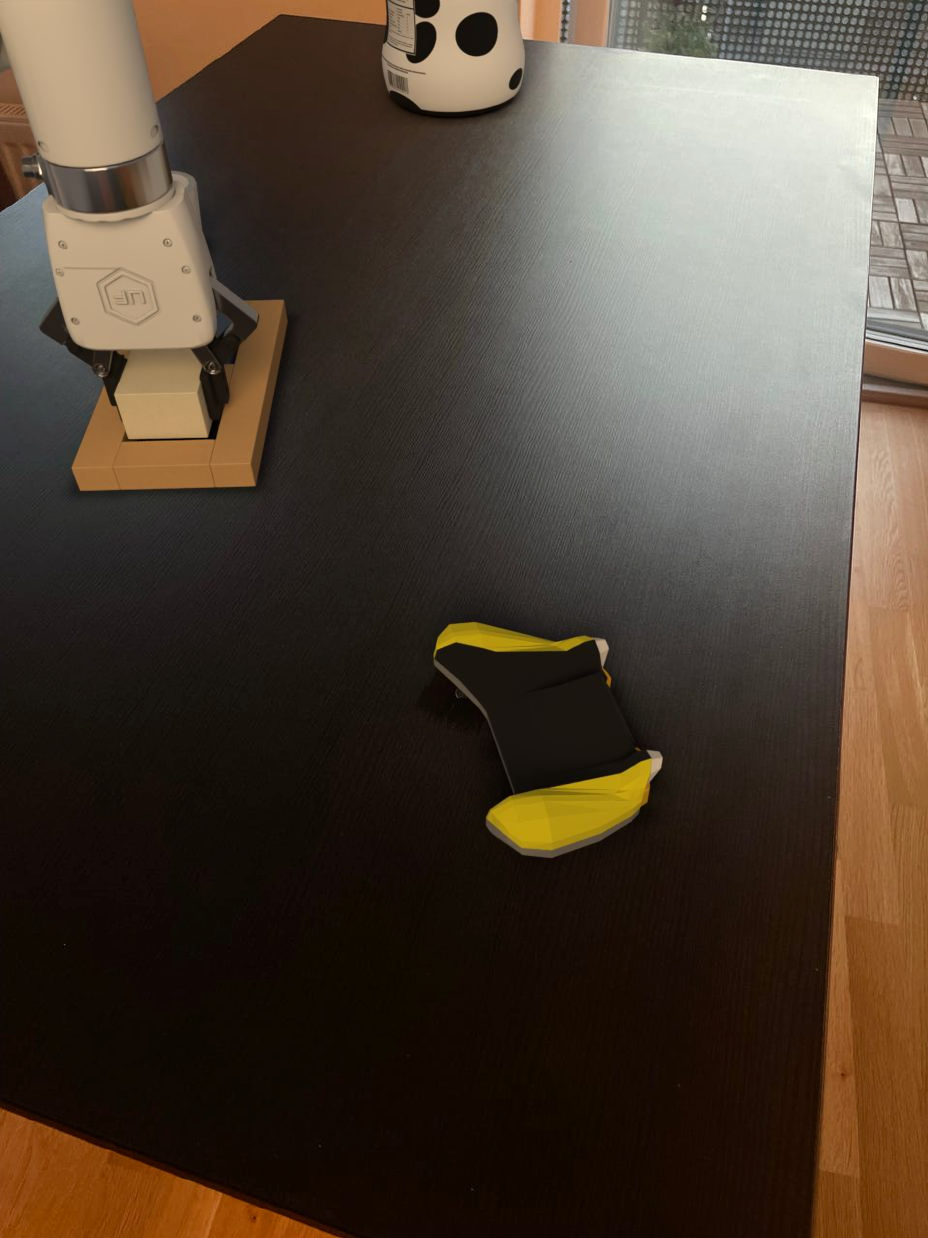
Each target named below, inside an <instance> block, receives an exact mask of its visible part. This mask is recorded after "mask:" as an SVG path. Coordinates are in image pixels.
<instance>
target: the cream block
mask: <svg viewBox="0 0 928 1238" xmlns="http://www.w3.org/2000/svg"><path fill="white" fill-rule="evenodd" d="M127 360H128V361H127V363H126V366H125V368H124V371H123V374H122V376H121V379H120V382H119V383H118V386H117V388H116V391H115V394H114V396H115V399H116V402H117V405H118V408H119V411H120V415H121V418H122V421H123V424H124V427H125V430H126V433H127V436H128V439H137V440H158V439H159V440H160V439H163V440H164V439H200V438H205V439H207V438H209V435H210V431H211V428H212V425H213V420H211V419H210V417H209V414H208V409H207V405H206V401H205V397H204V393H203V389H202V385H201V381H200V380H199V375H200V372H201V368H202V366H201V364H200V362H199V361H198V360H197V358H196V357H195V355H194V354H193V353H192V351H191V350H190V349H172V350H131V352H130V354H129V357H128V359H127Z"/></svg>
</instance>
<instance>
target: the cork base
mask: <svg viewBox="0 0 928 1238" xmlns="http://www.w3.org/2000/svg"><path fill="white" fill-rule="evenodd" d="M243 301H244V302H246V303H247V304H248V305H249V306H251V307H252V308H253V309H255V310H256V311H257V312H258V313H259V321H258V325H257V328H256V329H255V330H254V331H253V333H252V334H251V335H250V336H249V337H248V338H247V339H246V340H245V341H244V342H242V343H241V344H240V345H239V349H238V353H237V357H236V361H235V365H234V364H224V368H225V373H226V377H227V382H228V386H229V392H230V398H229V402H228V404H223V407H222V412H221V416H220V420H219V425H218V429H217V434H216V438H215V439H183V440H181V439H180V440H177V439H176V440H145V441H144V440H143V441H140V440H139V441H138V439H128V436H127V433H126V430H125V427H124V424H123V422H121V419H120V416H119V413H118V410H117V407H116V406H112V405H111V404H110V401H109V398H108V395H107V392H106V388H105V385H104V384H103V387H102V390H101V393H100V395H99V398H98V400H97V402H96V405H95V408H94V410H93V412H92V415H91V418H90V419H89V422H88V425H87V428H86V429H85V433H84V435H83V438H82V441H81V443H80V445H79V448H78V451H77V453H76V455H75V458H74V460H73V462H72V465H71V471H72V474H73V476H74V478H75V481H76V484H77V487H78V489H79V491H80V492H81V491H82V492H83V491H84V492H85V491H86V492H88V491H90V492H91V491H120V490H123V491H124V490H161V489H163V490H165V489H198V488H199V489H200V488H201V489H203V488H205V489H206V488H238V487H239V488H240V487H256V486H257V483H258V477H259V471H260V467H261V462H262V461H261V460H262V456H263V452H264V446H265V441H266V436H267V431H268V425H269V421H270V416H271V409H272V405H273V400H274V395H275V389H276V384H277V378H278V374H279V369H280V362H281V359H282V353H283V348H284V343H285V338H286V332H287V327H288V316H287V308H286V303H285V300H284V299H260V300H253V299H252V300H250V299H249V300H247V299H246V300H243ZM117 352H118V353H119V354H120V355H122V354H124V356H125V358H127V359H128V357H129V354H130V352H131V350H126V351H117Z"/></svg>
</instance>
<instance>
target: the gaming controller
mask: <svg viewBox="0 0 928 1238" xmlns="http://www.w3.org/2000/svg"><path fill="white" fill-rule="evenodd" d="M609 650H610V648H609V645H608V643H607V641H606V639H604V638H601V637H600V638H599V637H590V636H588V635H579V636H575V637H570V638H568V639H563V640H560V641H555V640H549V639H546V638H543V637H542V638H541V637H538V636H534V635H529V634H525V633H521V632H518V631H513V630H510V629H505V628H501V627H497V626H493V625H490V624H485V623H481V622H476V621H471V622H460V623H450V624H448V625H447V626H446V628H444V630H443V631H441V633H440V634H439V635H438V637H437V640H436V644H435V649H434V652H433V665H434V667H436V668H437V669H438V671H440V672H441V673H442V674H443V675H444V676H445V677H446V678H447V679H448V680H449V681H450V682H452V684H454V685H455V686H456V687H457V688H458V689H459V690H460V691H461V692H462V693H463V694H464V695H465V696H466V697H468V699H469V700H470V701H471V702H472V703H473V704H474V705H475V706H476V707H477V708H478V709H479V710H480V712H481V713H482V714H483V716H484V717H485V718H486V720H487V723H488V725H489V728H490V731H491V734H492V736H493V740H494V743H495V746H496V748H497V750H498V754H499V757H500V759H501V762H502V765H503V768H504V770H505V773H506V776H507V779H508V782H509V784H510V788H511V790H512V793H513V795H509V796H507V797H504V798H503V799H502V800H500V801H498V803H496V804H495V805H494V806H492V807H491V808H490V809H489V810H488V813H487V814H486V816H485V827H486V828H487V829H488V831H489V832H490V833H491V834H492V835H493V836H495V837H496V838H497V839H499V840H500V841H502V842H503V843H504V844H506V845H508V847H510V848H512V849H513V850H515V851H516V852H517V853H519V854H520V855H521V856H529V857H537V858H547V859H553V858H555V857H558V856H561V855H565V854H567V853H570V852H572V851H573V852H574V851H575V850H578V849H581V848H583V847H586V846H589V845H592V844H596V843H598V842H601V841H602V840H604V839H605V838H607V837H609V836H611V835H612V834H614V833H615V832H617V831H618V830H620V829H621V828H623V827H625V826H627V825H628V824H629V823H631V822H632V821H634V820H635V818H636V817H637V816H638V815H639V814H640V810H641V807H643V806H644V805H646V804H647V803H648V800H649V795H650V789H651V781H652V780H653V779H654V777H655V776H656V775H657V774H658V772H659V771H660V770H661V769H662V764H663V757H664V756H662V754H661V752H660V751H657V750H650V749H646V748H645V749H642V750H641V749H640V748H638V745H637V742H636V741H635V738H634V737H633V734H632V732H631V730H630V728H629V725H628V724H627V721H626V720H625V718H624V715H623V713H622V711H621V708H620V707H619V704H618V702H617V701H616V698H615V696H614V694H613V692H612V690H611V683H612V677H611V676H610V674H609V673H608V672H607V671H606V669H604V665H605V662H606V659H607V656H608V653H609Z"/></svg>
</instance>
